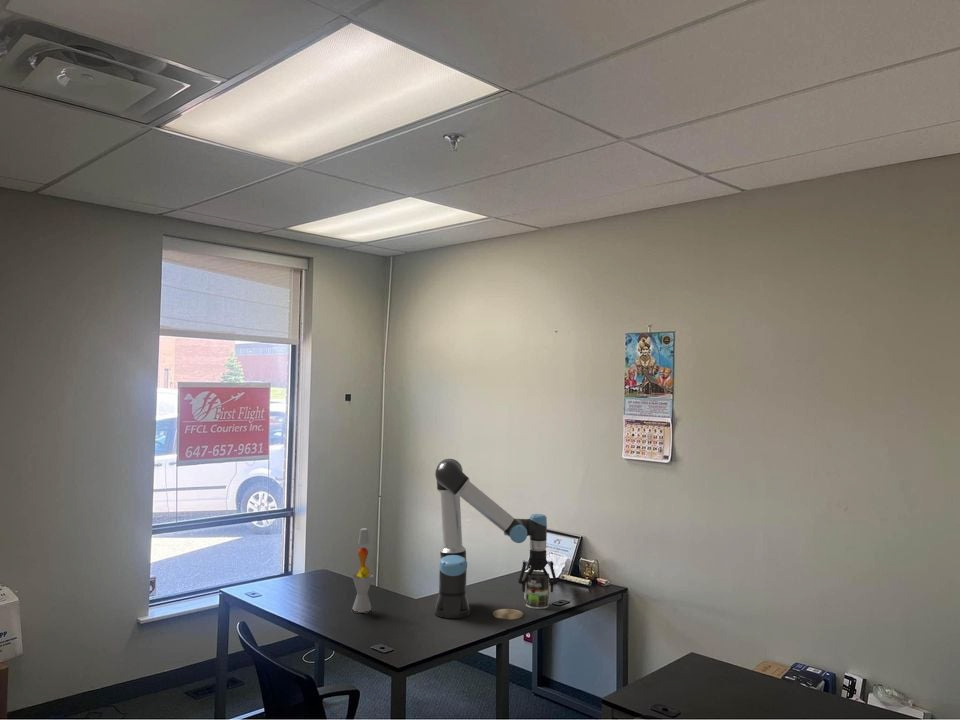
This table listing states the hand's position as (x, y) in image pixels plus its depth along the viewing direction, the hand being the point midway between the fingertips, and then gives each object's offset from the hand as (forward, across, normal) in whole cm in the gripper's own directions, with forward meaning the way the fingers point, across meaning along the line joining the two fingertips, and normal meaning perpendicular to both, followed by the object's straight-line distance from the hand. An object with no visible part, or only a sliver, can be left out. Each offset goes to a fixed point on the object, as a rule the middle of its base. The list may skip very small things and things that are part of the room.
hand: (537, 599), depth 314 cm
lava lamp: (+3, -77, -11) cm, 78 cm away
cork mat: (+3, -14, -14) cm, 20 cm away
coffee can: (+3, 0, 0) cm, 3 cm away
